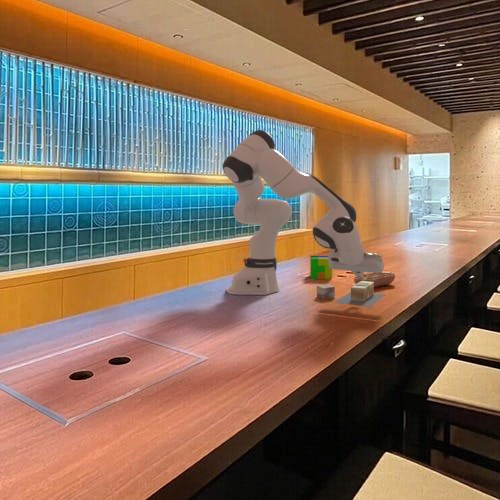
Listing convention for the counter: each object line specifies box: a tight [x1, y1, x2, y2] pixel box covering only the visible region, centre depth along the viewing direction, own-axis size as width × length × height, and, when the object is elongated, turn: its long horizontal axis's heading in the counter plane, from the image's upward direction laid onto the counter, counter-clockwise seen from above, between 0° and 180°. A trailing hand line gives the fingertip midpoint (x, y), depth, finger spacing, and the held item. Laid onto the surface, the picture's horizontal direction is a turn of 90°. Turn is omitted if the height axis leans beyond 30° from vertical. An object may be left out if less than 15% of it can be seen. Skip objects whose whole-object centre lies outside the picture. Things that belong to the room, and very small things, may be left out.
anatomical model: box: [353, 272, 396, 288], centre depth 205 cm, size 23×10×5 cm, turn 129°
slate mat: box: [333, 291, 386, 308], centre depth 182 cm, size 22×14×1 cm, turn 150°
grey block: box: [316, 284, 336, 300], centre depth 184 cm, size 5×5×5 cm
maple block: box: [350, 281, 375, 301], centre depth 184 cm, size 5×5×14 cm
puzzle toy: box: [309, 255, 333, 280], centre depth 229 cm, size 10×10×10 cm
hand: (359, 275), depth 180 cm, fingers closed
